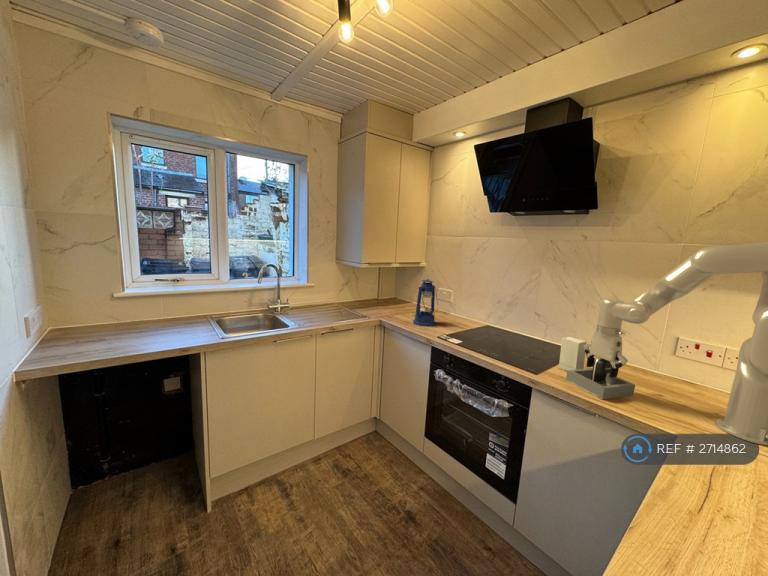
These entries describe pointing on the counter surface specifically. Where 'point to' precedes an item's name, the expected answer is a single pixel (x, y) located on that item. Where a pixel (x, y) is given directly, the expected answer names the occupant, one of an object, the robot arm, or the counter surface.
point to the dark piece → (600, 371)
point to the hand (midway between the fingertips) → (600, 371)
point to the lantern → (426, 314)
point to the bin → (612, 390)
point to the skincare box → (572, 354)
